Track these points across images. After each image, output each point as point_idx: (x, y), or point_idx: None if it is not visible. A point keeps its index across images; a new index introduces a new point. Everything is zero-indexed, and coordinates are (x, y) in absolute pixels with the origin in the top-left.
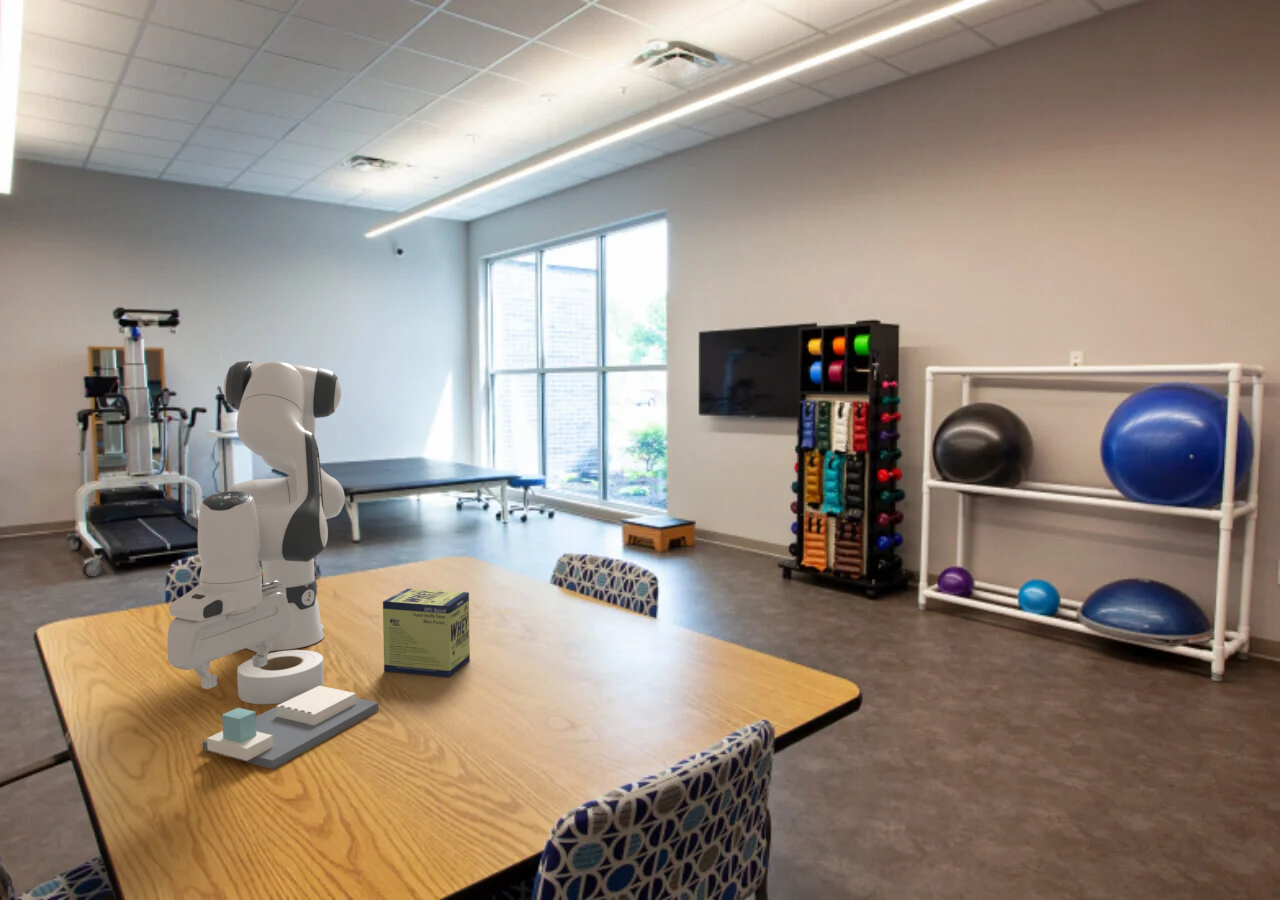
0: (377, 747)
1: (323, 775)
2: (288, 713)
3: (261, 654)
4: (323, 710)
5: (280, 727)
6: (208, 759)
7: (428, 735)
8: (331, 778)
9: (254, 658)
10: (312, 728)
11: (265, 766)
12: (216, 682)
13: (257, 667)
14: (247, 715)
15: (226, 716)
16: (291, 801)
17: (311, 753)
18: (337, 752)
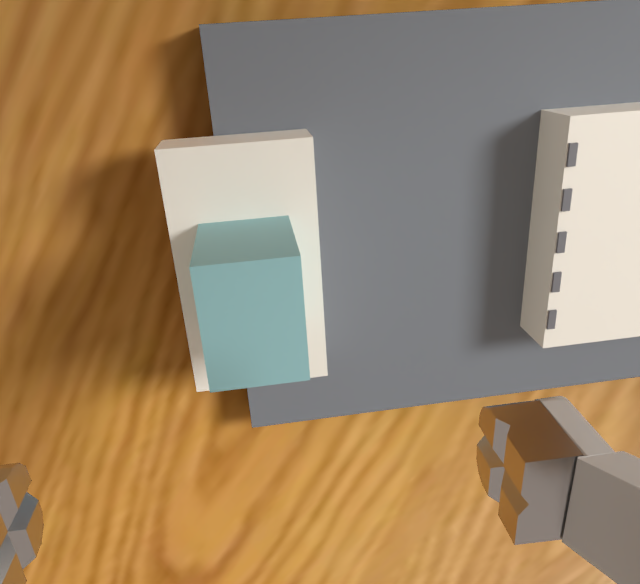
0: (494, 526)
1: (304, 539)
2: (548, 192)
3: (578, 517)
4: (589, 341)
5: (459, 224)
6: (167, 137)
7: (599, 571)
8: (303, 564)
9: (515, 472)
10: (496, 340)
11: None
12: (26, 560)
13: (478, 443)
14: (260, 384)
15: (195, 299)
16: (164, 580)
17: (387, 414)
18: (426, 468)
